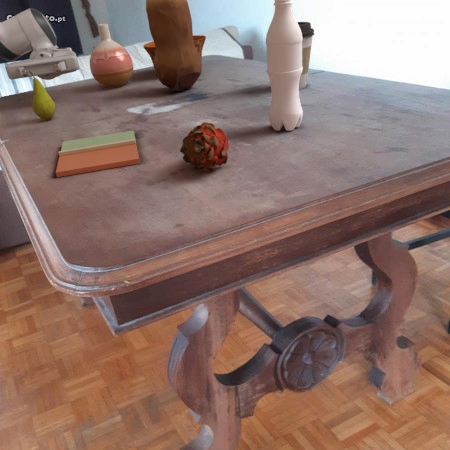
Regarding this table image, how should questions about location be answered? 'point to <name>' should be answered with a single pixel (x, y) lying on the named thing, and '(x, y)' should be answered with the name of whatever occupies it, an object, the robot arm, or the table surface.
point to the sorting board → (97, 153)
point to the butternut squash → (173, 43)
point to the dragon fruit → (205, 147)
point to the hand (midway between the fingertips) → (40, 71)
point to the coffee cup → (305, 51)
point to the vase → (110, 61)
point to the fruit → (42, 101)
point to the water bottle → (284, 67)
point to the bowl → (197, 41)
